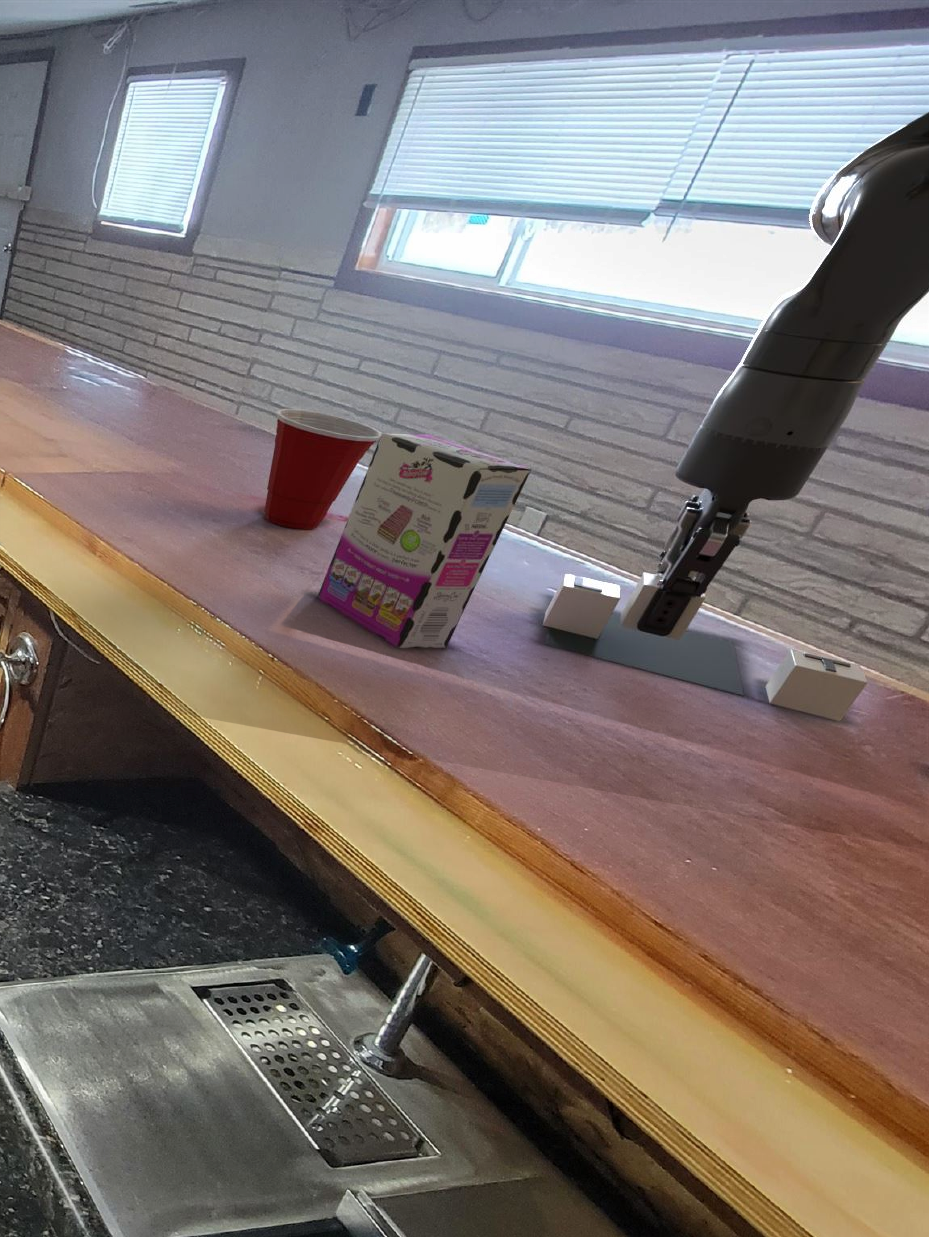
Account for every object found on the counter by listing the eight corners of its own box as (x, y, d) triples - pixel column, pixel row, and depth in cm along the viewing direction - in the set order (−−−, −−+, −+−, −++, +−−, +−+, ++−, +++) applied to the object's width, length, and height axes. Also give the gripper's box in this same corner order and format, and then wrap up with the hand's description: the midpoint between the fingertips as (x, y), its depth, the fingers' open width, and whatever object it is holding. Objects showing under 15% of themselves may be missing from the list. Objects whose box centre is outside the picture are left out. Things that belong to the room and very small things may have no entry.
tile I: (678, 626, 87) (704, 583, 85) (679, 640, 84) (706, 596, 82) (620, 612, 89) (644, 570, 87) (620, 626, 86) (644, 583, 84)
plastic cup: (355, 543, 109) (398, 436, 103) (249, 529, 112) (285, 424, 106) (333, 514, 118) (372, 414, 112) (236, 501, 121) (268, 403, 115)
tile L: (599, 625, 90) (621, 584, 88) (597, 639, 87) (621, 597, 85) (545, 612, 92) (566, 572, 90) (542, 625, 90) (564, 584, 88)
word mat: (730, 647, 89) (734, 641, 88) (740, 702, 79) (744, 696, 79) (552, 604, 96) (555, 599, 95) (542, 650, 86) (545, 644, 86)
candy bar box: (448, 653, 85) (537, 468, 77) (396, 653, 85) (480, 468, 76) (359, 600, 95) (430, 431, 87) (312, 600, 94) (378, 430, 86)
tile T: (829, 708, 79) (861, 664, 77) (835, 727, 76) (869, 681, 74) (761, 691, 81) (791, 647, 79) (765, 709, 78) (796, 663, 76)
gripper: (844, 457, 71) (711, 665, 79) (820, 424, 80) (703, 613, 89) (707, 435, 75) (594, 636, 84) (699, 407, 85) (599, 589, 93)
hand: (651, 623), depth 86 cm, fingers closed on tile I, 4 cm apart
